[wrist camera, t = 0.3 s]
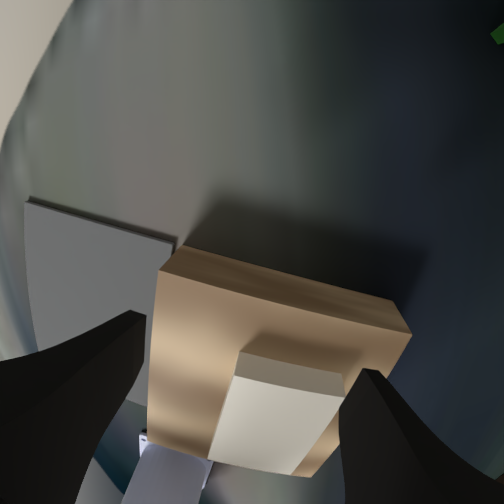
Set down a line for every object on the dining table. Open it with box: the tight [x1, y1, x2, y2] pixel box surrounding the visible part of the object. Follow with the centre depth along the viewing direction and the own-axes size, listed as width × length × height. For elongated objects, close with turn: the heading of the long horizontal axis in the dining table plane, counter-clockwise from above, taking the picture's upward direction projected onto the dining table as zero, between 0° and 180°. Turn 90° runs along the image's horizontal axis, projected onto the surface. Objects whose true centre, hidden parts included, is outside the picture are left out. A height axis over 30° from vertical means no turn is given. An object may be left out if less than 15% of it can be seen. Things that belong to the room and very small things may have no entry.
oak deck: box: [147, 245, 412, 477], centre depth 20 cm, size 16×14×4 cm
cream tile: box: [207, 351, 346, 475], centre depth 17 cm, size 9×6×2 cm, turn 166°
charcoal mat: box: [24, 201, 175, 407], centre depth 21 cm, size 16×13×1 cm
